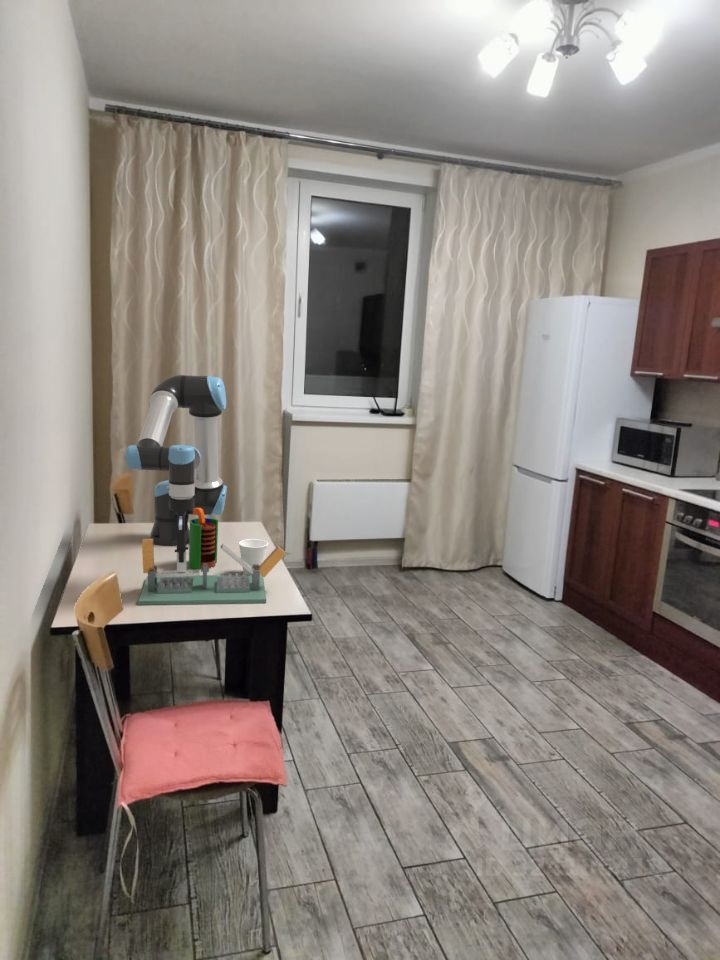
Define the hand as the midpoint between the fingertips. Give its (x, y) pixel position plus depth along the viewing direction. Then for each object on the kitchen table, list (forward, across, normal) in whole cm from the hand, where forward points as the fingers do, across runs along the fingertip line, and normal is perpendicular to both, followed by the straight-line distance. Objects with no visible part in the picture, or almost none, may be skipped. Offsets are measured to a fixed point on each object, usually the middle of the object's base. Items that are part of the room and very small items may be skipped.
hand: (181, 571), depth 214 cm
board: (+7, 0, +7) cm, 10 cm away
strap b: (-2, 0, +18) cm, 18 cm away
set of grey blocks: (+5, 0, +7) cm, 9 cm away
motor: (+7, -25, +5) cm, 27 cm away
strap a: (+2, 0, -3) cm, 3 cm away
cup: (+7, -15, +22) cm, 28 cm away
